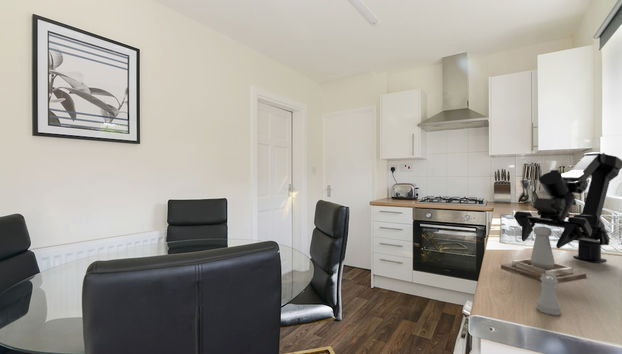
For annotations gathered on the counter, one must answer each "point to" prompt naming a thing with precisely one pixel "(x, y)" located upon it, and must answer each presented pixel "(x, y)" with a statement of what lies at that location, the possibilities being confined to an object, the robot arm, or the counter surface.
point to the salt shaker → (542, 249)
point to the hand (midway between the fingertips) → (539, 243)
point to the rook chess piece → (549, 296)
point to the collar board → (533, 272)
